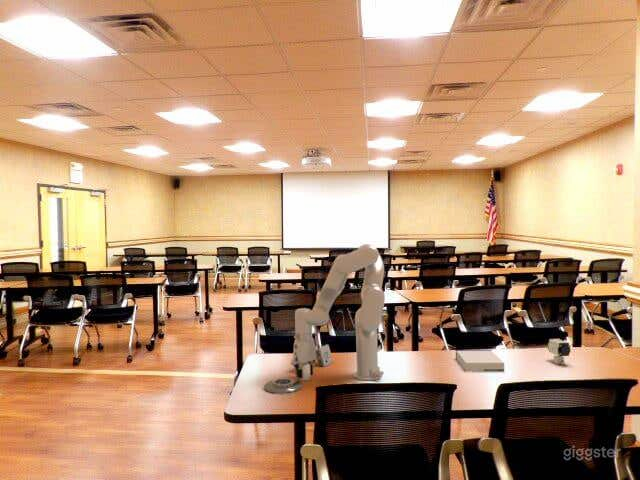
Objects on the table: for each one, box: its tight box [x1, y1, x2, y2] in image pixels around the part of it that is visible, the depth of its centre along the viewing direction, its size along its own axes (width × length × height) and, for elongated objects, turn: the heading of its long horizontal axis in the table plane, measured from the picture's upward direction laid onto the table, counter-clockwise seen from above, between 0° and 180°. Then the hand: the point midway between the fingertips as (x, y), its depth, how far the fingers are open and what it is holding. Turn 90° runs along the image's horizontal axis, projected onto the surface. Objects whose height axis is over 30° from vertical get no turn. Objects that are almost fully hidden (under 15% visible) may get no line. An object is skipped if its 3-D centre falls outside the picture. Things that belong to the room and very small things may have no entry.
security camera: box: [547, 337, 571, 365], centre depth 228 cm, size 6×12×12 cm, turn 6°
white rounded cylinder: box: [299, 362, 311, 381], centre depth 214 cm, size 5×5×8 cm
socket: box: [263, 378, 303, 394], centre depth 203 cm, size 16×16×2 cm
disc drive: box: [455, 349, 505, 373], centre depth 229 cm, size 18×22×5 cm
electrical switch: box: [316, 344, 334, 368], centre depth 237 cm, size 9×5×9 cm, turn 152°
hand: (304, 375), depth 214 cm, fingers open, 5 cm apart
